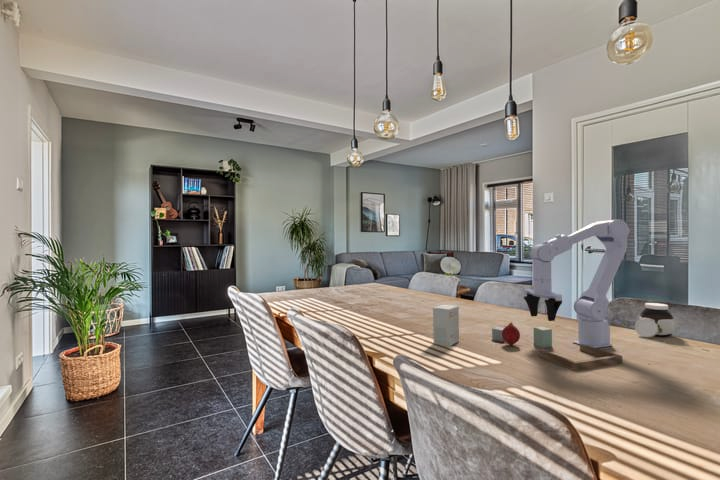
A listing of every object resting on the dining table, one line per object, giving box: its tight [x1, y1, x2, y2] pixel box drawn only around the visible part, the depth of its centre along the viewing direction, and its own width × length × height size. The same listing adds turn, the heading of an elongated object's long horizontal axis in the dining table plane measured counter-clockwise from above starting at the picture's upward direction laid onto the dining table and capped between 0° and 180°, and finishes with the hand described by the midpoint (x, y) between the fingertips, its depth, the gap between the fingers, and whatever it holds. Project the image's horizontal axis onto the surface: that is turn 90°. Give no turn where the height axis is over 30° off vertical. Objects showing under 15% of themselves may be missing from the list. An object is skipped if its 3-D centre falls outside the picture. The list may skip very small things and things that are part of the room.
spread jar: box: [634, 302, 675, 338], centre depth 137 cm, size 12×11×12 cm
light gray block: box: [491, 326, 505, 342], centre depth 135 cm, size 4×4×4 cm
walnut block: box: [538, 344, 623, 371], centre depth 112 cm, size 18×13×2 cm
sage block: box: [533, 326, 553, 349], centre depth 126 cm, size 4×4×6 cm
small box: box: [432, 304, 460, 347], centre depth 131 cm, size 8×6×13 cm
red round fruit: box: [502, 321, 521, 346], centre depth 127 cm, size 6×6×8 cm
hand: (542, 318), depth 126 cm, fingers open, 7 cm apart
